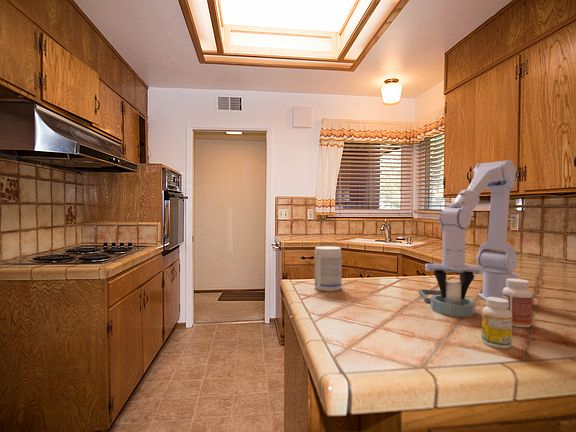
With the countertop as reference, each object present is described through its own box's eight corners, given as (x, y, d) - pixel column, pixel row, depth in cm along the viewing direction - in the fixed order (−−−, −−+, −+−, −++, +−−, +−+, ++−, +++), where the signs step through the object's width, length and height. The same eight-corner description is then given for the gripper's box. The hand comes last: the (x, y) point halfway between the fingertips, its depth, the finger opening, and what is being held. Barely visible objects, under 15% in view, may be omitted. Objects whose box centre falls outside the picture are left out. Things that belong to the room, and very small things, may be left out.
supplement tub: (346, 288, 115) (347, 247, 114) (330, 293, 108) (330, 250, 108) (325, 284, 122) (326, 245, 121) (308, 288, 115) (309, 247, 115)
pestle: (458, 301, 93) (459, 281, 93) (463, 306, 89) (463, 284, 89) (442, 300, 94) (442, 280, 94) (446, 304, 90) (446, 283, 90)
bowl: (467, 306, 96) (467, 296, 95) (480, 318, 85) (480, 307, 85) (427, 303, 98) (427, 293, 98) (435, 314, 87) (436, 303, 87)
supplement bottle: (509, 351, 65) (511, 304, 65) (479, 344, 68) (480, 299, 68) (512, 343, 69) (514, 299, 69) (483, 336, 73) (485, 294, 72)
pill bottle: (536, 325, 80) (537, 281, 80) (525, 330, 77) (526, 284, 77) (508, 318, 85) (509, 276, 85) (497, 322, 82) (498, 279, 82)
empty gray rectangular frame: (456, 294, 108) (456, 291, 108) (468, 305, 96) (468, 301, 96) (418, 292, 111) (418, 288, 111) (425, 302, 99) (425, 298, 99)
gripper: (429, 250, 89) (428, 299, 89) (487, 252, 85) (486, 303, 86) (424, 247, 96) (423, 292, 96) (478, 249, 92) (476, 296, 93)
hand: (452, 297), depth 91 cm, fingers closed on pestle, 4 cm apart
